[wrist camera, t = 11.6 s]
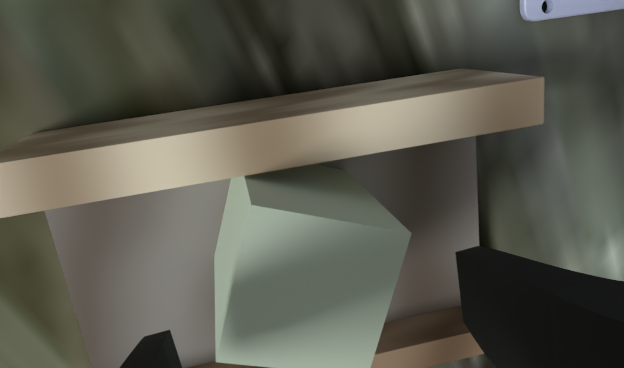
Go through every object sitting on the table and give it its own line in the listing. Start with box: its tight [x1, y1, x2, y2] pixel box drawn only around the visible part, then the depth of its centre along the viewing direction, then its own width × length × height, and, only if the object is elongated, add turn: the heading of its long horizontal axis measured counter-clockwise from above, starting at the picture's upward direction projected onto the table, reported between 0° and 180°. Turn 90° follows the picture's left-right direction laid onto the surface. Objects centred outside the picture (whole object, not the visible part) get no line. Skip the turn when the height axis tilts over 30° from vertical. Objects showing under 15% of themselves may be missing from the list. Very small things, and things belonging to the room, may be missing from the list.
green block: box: [214, 164, 412, 368], centre depth 17 cm, size 4×5×7 cm
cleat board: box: [0, 68, 544, 368], centre depth 19 cm, size 17×12×6 cm
